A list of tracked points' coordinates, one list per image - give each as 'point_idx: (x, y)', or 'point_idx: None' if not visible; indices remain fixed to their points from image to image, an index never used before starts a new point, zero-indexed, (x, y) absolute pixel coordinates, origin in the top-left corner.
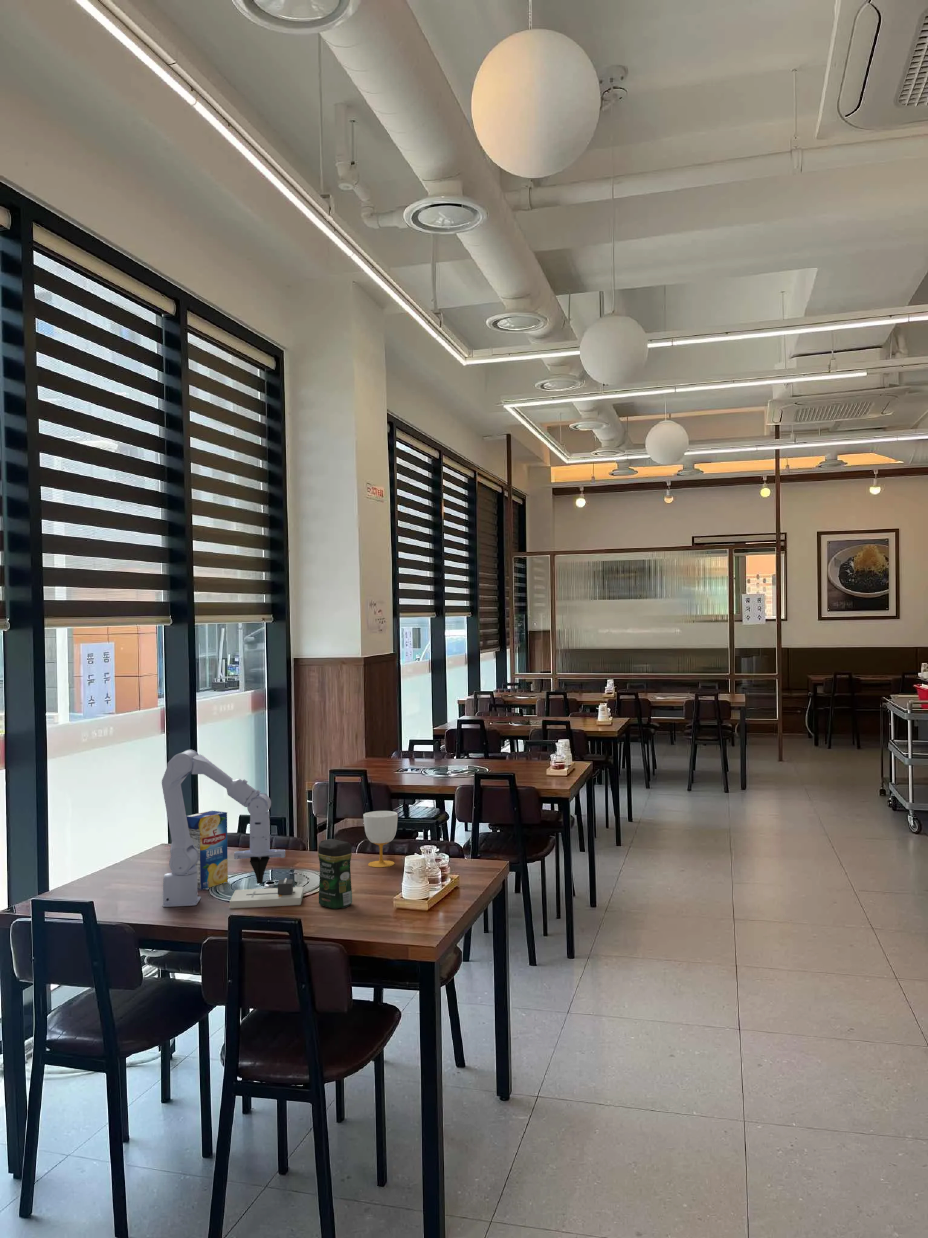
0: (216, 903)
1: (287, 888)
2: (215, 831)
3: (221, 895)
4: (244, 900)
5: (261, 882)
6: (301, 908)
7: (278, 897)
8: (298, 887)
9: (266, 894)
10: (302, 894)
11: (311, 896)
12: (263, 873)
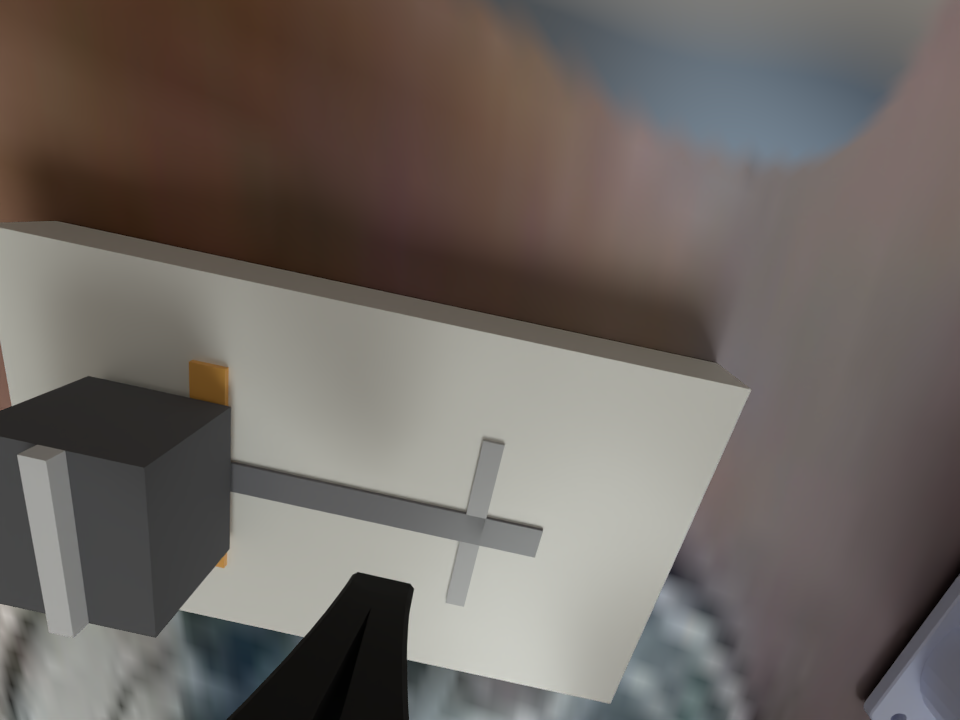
0: (781, 554)
1: (74, 413)
2: None
3: (689, 715)
4: (588, 358)
5: (353, 583)
6: (26, 90)
7: (222, 330)
8: None
9: (350, 482)
10: None
11: None
12: (253, 695)
